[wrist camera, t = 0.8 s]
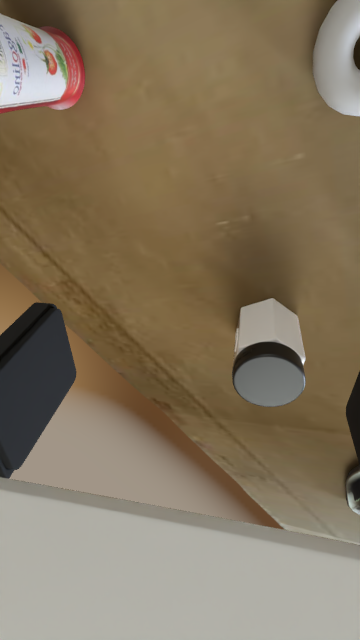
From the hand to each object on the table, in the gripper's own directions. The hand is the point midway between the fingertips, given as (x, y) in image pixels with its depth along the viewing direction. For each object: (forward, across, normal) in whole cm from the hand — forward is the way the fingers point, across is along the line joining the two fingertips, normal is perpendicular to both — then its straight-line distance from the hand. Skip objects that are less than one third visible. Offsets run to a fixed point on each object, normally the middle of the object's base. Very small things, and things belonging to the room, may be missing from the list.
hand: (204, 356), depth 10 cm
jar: (+33, -5, +21) cm, 40 cm away
